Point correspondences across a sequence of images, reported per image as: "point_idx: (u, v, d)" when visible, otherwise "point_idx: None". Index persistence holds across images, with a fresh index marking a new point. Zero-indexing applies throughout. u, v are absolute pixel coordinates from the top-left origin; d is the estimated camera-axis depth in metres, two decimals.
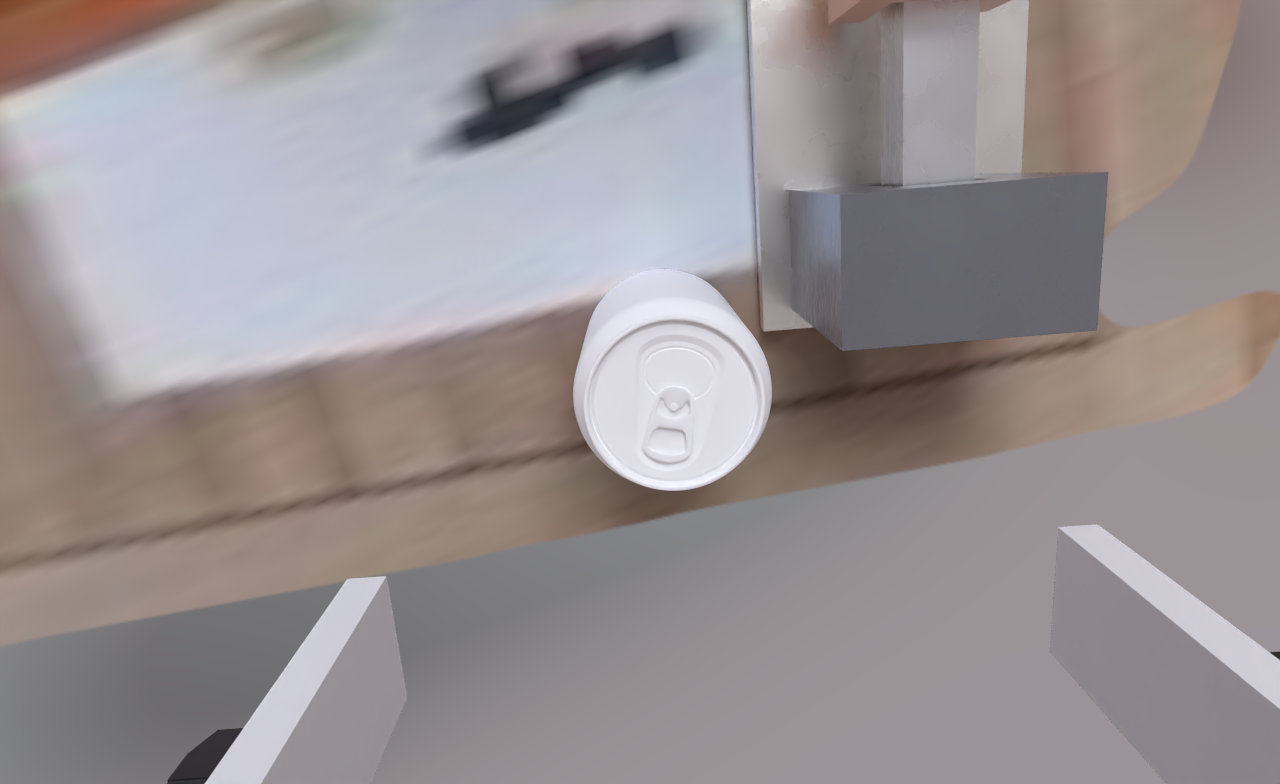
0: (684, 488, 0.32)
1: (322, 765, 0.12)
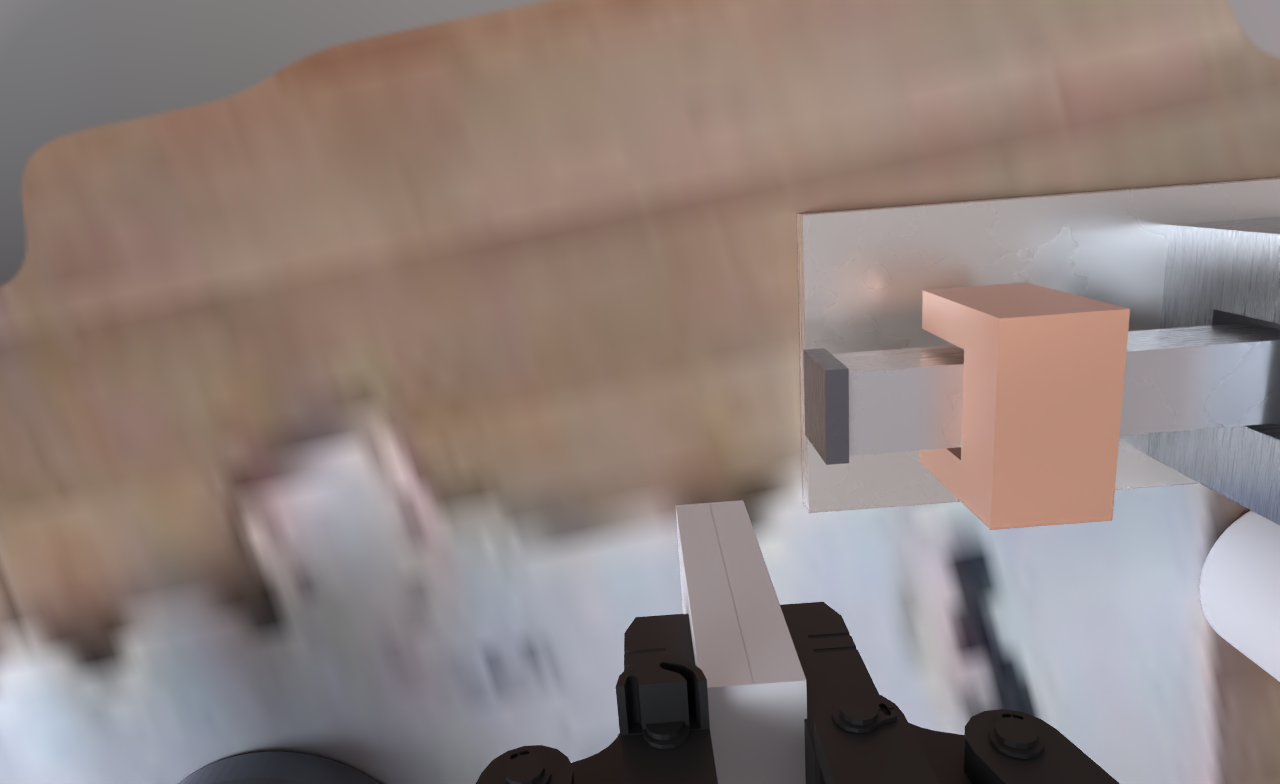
0: None
1: None
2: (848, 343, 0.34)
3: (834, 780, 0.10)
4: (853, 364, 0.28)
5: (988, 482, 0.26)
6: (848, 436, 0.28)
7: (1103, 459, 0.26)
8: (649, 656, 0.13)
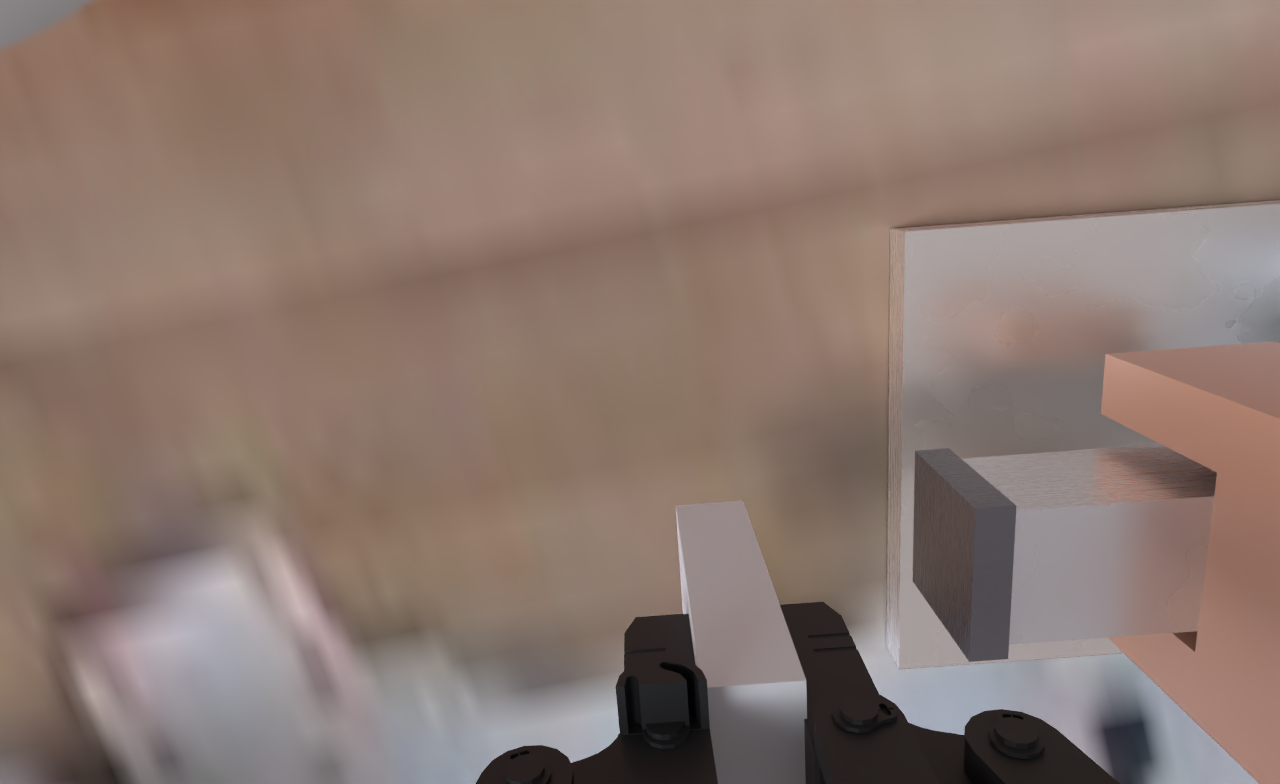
0: None
1: None
2: (967, 425, 0.22)
3: (834, 780, 0.10)
4: (1011, 487, 0.17)
5: (1278, 721, 0.15)
6: (1007, 616, 0.16)
7: None
8: (649, 656, 0.13)
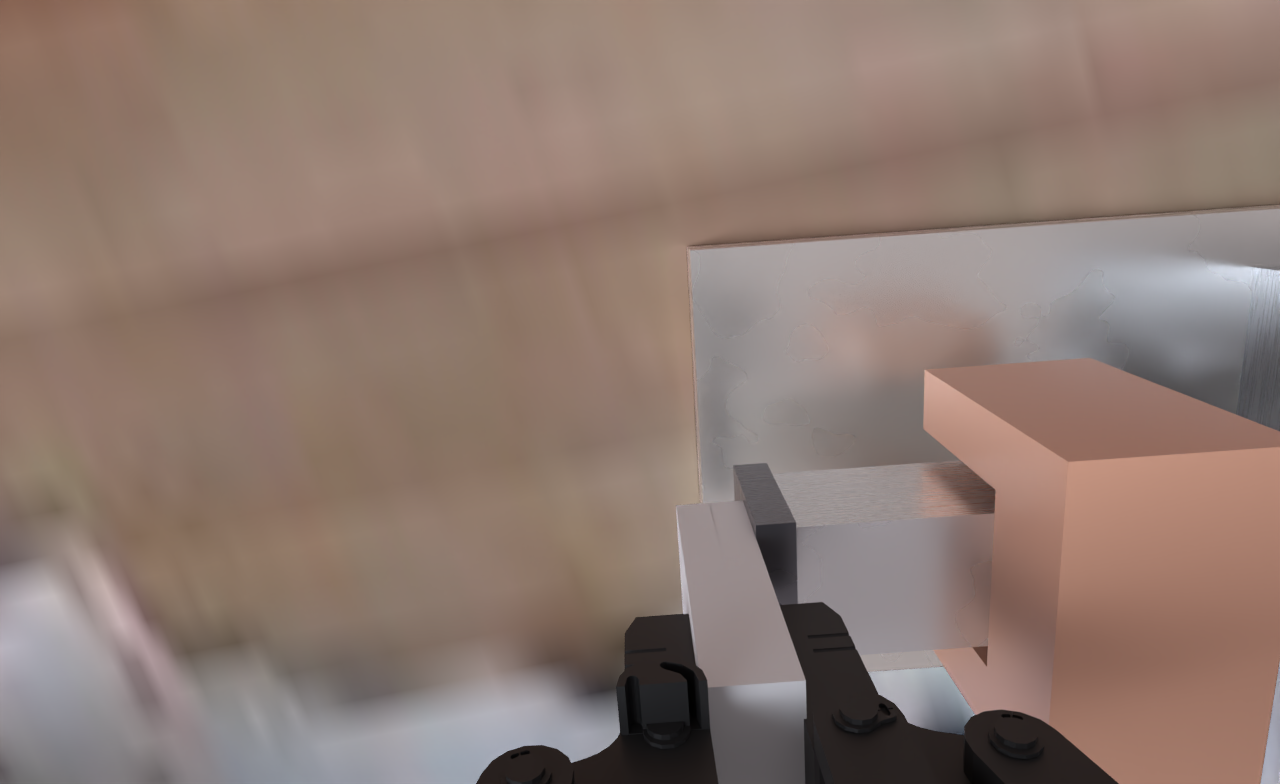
0: None
1: None
2: (764, 442, 0.22)
3: (833, 780, 0.10)
4: (808, 503, 0.17)
5: None
6: None
7: (1248, 703, 0.14)
8: (649, 656, 0.13)
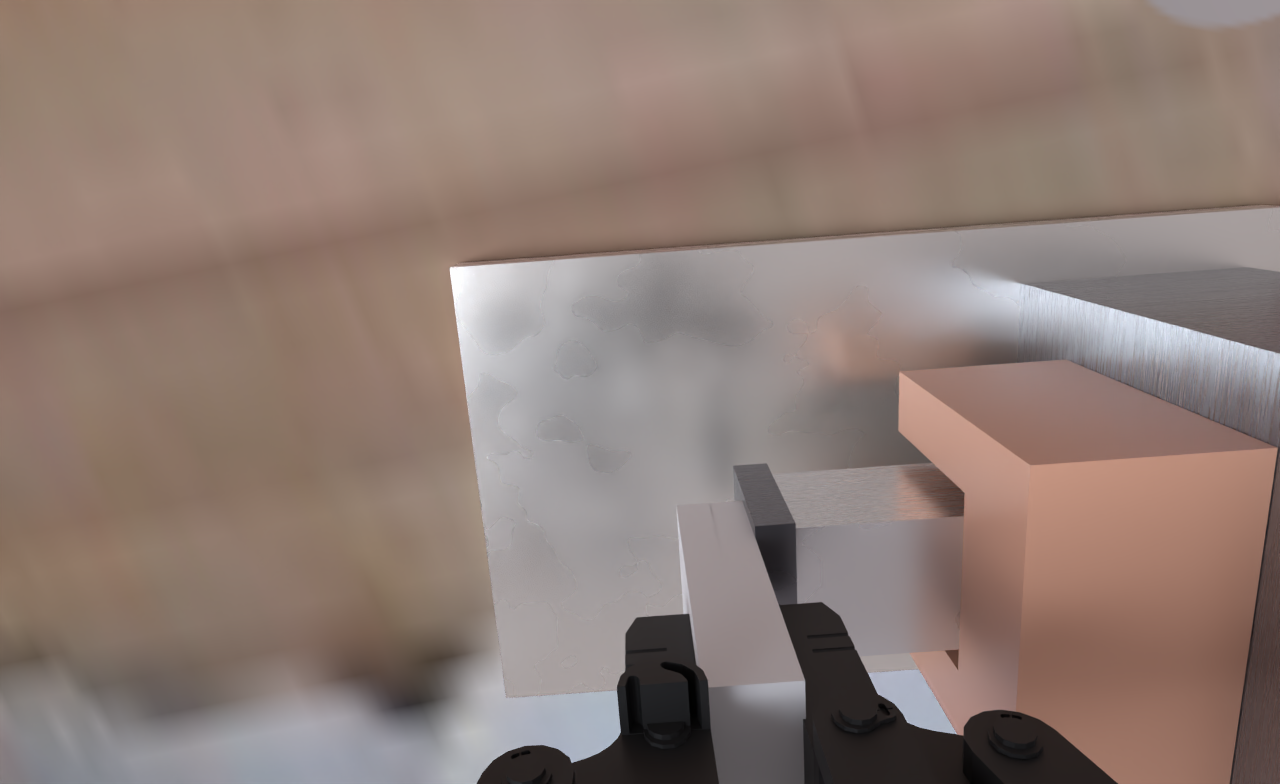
0: None
1: None
2: (540, 458, 0.22)
3: (833, 780, 0.10)
4: (808, 504, 0.17)
5: None
6: None
7: (1215, 708, 0.14)
8: (650, 656, 0.13)
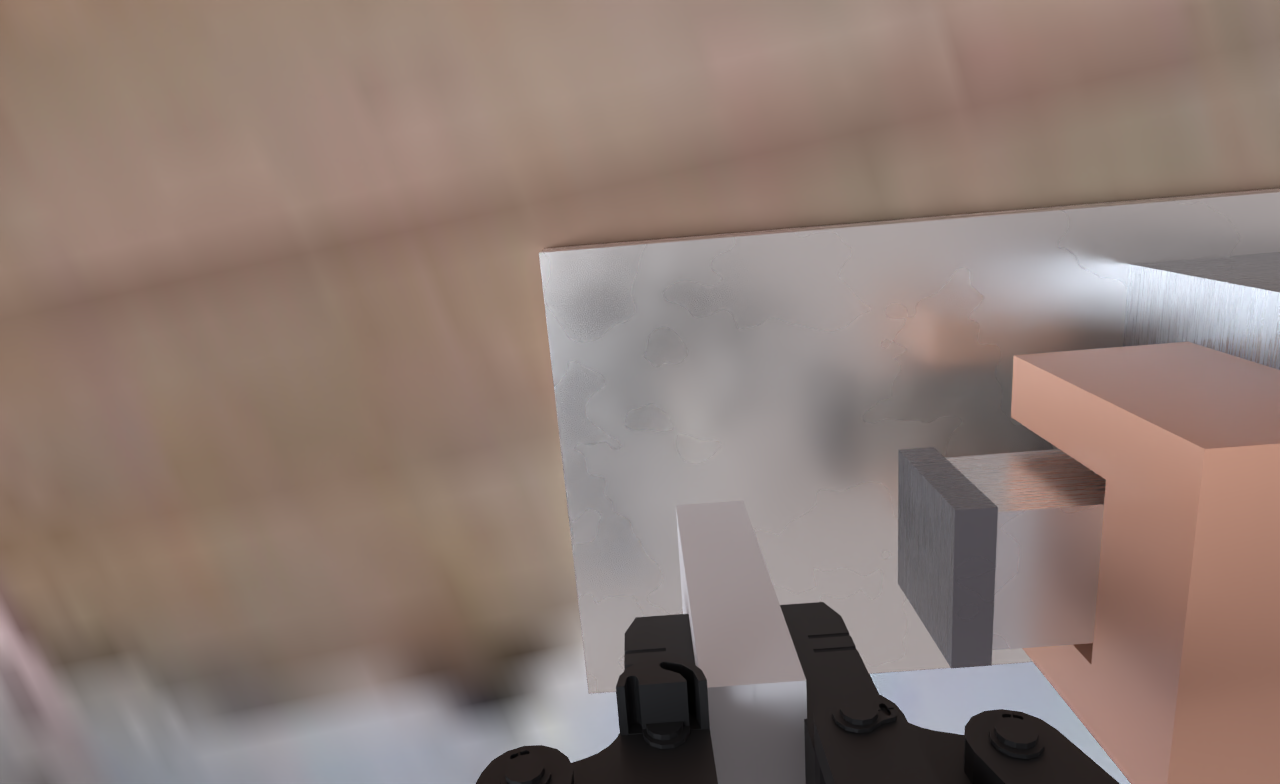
0: None
1: None
2: (627, 448, 0.22)
3: (834, 780, 0.10)
4: (995, 488, 0.16)
5: (1160, 738, 0.14)
6: (991, 621, 0.16)
7: None
8: (649, 656, 0.13)
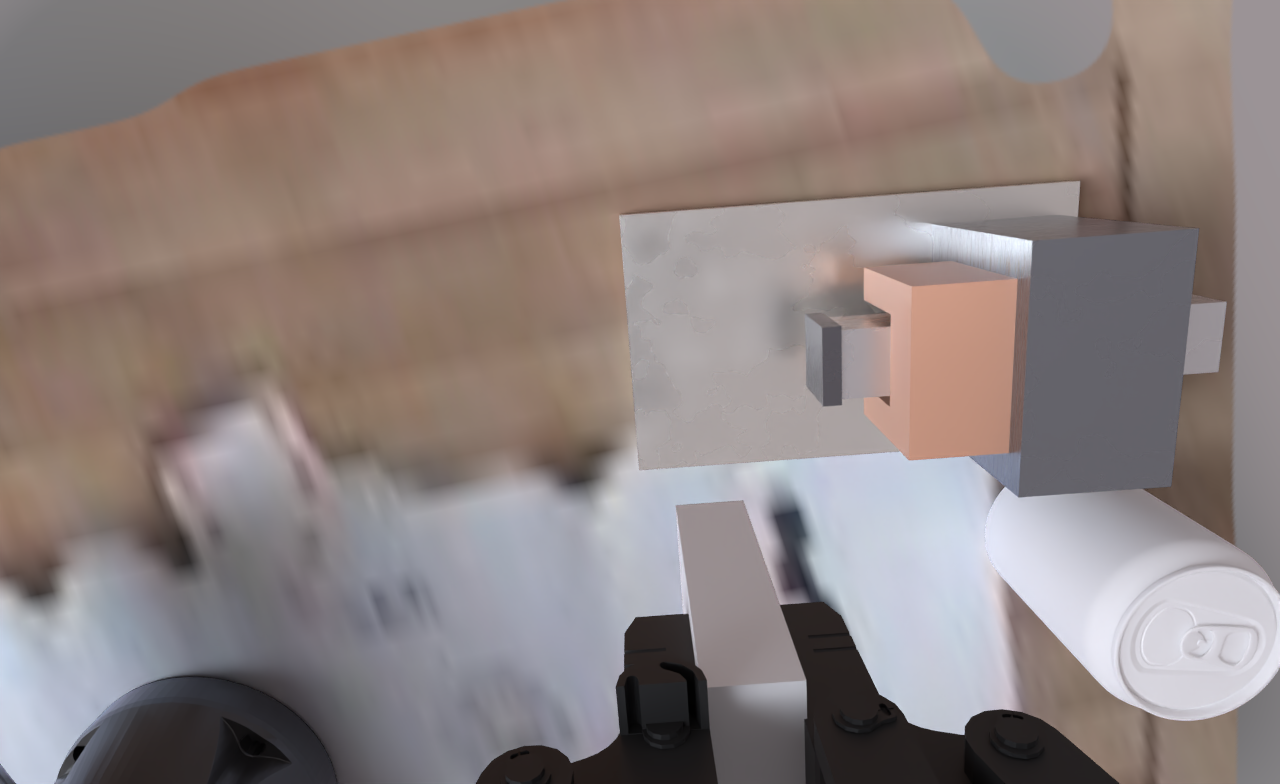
0: None
1: None
2: (664, 324, 0.40)
3: (834, 780, 0.10)
4: (846, 324, 0.34)
5: (907, 421, 0.32)
6: (841, 383, 0.34)
7: (999, 402, 0.32)
8: (649, 656, 0.13)
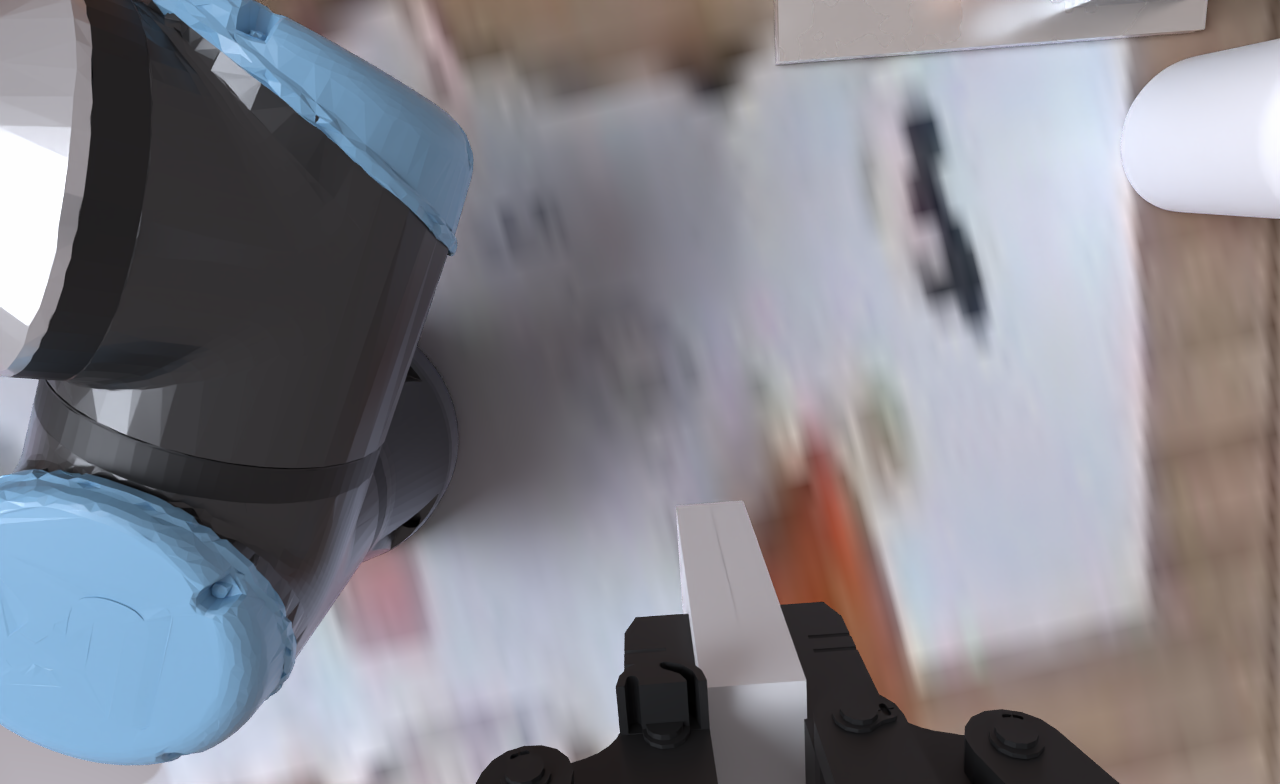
0: None
1: None
2: None
3: (834, 780, 0.10)
4: None
5: None
6: None
7: None
8: (649, 656, 0.13)
